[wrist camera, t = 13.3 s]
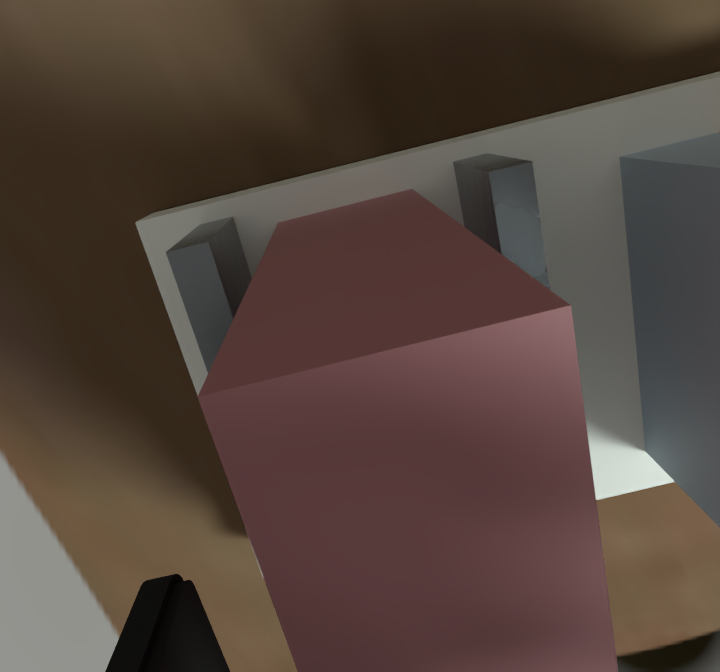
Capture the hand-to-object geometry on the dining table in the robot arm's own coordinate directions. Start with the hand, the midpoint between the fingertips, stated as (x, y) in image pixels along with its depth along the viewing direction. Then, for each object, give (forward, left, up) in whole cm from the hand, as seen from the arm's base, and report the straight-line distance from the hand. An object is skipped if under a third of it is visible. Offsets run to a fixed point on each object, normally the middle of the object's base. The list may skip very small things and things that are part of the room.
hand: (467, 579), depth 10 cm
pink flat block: (0, 0, -10) cm, 10 cm away
